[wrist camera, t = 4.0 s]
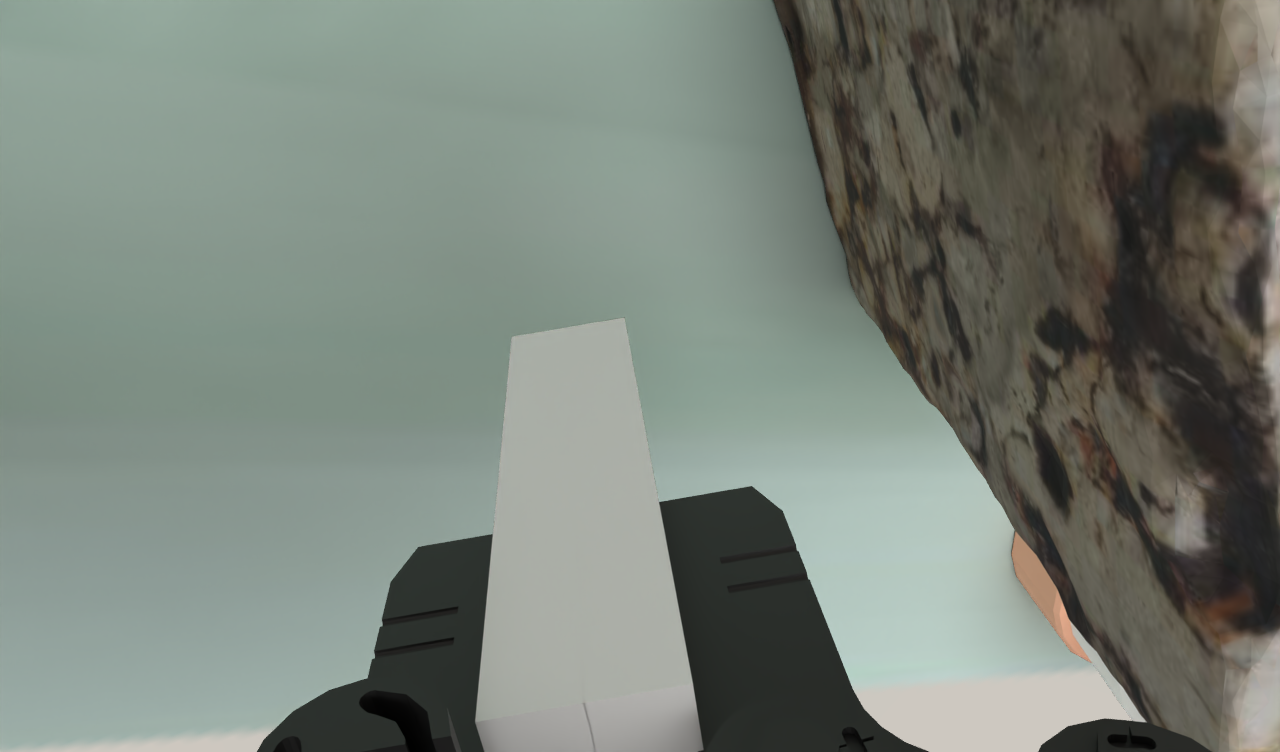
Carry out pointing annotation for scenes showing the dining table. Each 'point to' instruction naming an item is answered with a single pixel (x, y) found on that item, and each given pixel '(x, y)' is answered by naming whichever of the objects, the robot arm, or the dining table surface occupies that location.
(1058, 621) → the salt shaker
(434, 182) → the dining table surface
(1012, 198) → the stone block
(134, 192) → the dining table surface
